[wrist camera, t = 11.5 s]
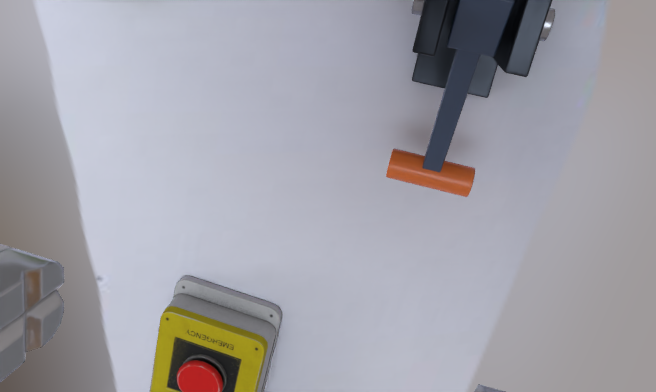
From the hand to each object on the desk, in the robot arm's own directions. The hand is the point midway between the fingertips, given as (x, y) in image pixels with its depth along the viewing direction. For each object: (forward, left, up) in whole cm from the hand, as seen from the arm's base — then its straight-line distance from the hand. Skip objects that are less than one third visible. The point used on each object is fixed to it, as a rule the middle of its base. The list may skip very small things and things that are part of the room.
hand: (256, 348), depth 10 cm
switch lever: (-1, +4, -22) cm, 22 cm away
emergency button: (+21, -18, -29) cm, 40 cm away
